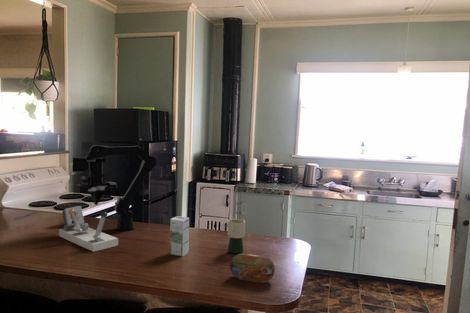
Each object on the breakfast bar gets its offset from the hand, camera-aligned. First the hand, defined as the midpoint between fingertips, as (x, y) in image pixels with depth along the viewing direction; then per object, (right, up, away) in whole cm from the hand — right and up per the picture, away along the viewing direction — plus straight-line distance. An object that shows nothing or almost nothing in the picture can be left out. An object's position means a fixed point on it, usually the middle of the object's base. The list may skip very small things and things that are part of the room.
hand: (96, 204), depth 165 cm
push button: (-3, -10, -7) cm, 12 cm away
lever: (+9, -10, -23) cm, 26 cm away
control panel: (+1, -14, -13) cm, 19 cm away
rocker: (-9, -9, -8) cm, 15 cm away
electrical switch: (-16, -12, +11) cm, 23 cm away
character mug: (+66, -17, -22) cm, 71 cm away
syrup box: (+43, -16, -26) cm, 53 cm away
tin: (+71, -19, -49) cm, 88 cm away
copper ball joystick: (-2, -10, -14) cm, 17 cm away
